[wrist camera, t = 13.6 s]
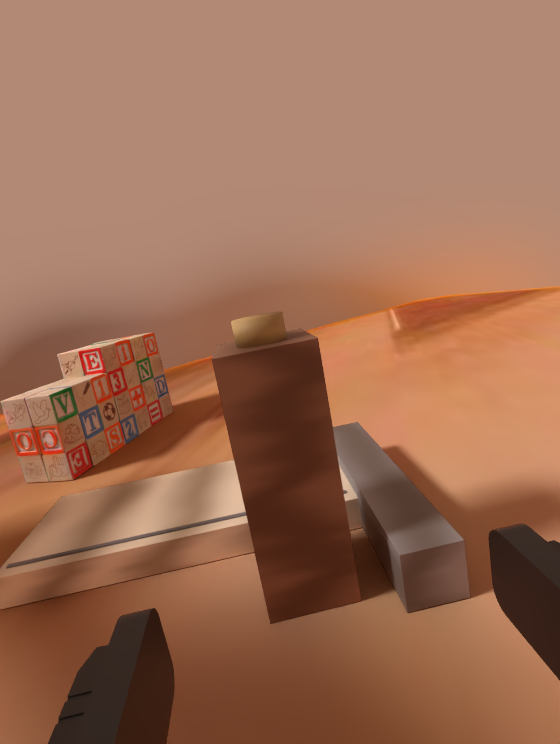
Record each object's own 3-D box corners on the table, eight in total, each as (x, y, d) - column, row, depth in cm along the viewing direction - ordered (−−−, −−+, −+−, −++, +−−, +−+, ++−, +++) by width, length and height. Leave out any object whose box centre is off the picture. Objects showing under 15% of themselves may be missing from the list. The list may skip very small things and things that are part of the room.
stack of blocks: (74, 482, 42) (37, 364, 40) (25, 485, 44) (-13, 372, 41) (174, 411, 62) (154, 330, 60) (138, 415, 64) (117, 336, 61)
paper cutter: (-91, 732, 18) (-118, 675, 17) (68, 518, 34) (57, 485, 34) (470, 597, 19) (464, 540, 19) (362, 454, 36) (357, 422, 35)
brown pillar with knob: (270, 623, 20) (205, 330, 17) (263, 563, 24) (210, 322, 21) (361, 600, 20) (313, 309, 17) (338, 545, 25) (296, 305, 22)
